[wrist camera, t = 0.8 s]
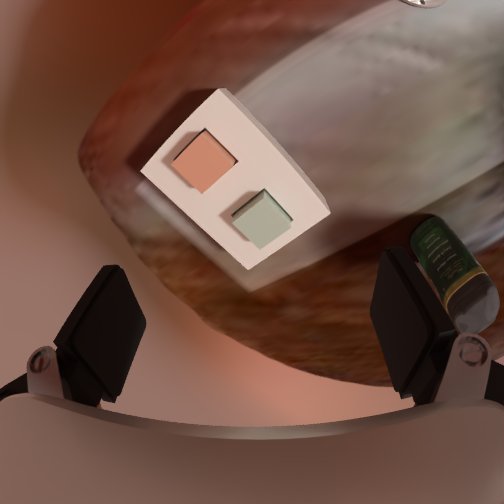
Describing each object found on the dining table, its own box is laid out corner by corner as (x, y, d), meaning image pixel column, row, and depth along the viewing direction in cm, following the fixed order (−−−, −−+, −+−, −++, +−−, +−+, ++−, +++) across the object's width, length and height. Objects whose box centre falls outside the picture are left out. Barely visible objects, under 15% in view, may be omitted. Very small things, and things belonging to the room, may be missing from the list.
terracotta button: (207, 128, 30) (200, 134, 27) (236, 157, 32) (232, 166, 29) (179, 156, 32) (170, 164, 29) (207, 183, 34) (201, 194, 31)
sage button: (264, 186, 34) (263, 197, 31) (289, 214, 36) (291, 227, 33) (235, 210, 36) (231, 223, 33) (260, 235, 38) (259, 249, 35)
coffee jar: (401, 237, 40) (450, 322, 25) (435, 207, 36) (500, 282, 21) (424, 268, 43) (466, 348, 28) (455, 242, 40) (507, 316, 24)
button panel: (225, 87, 30) (218, 88, 26) (324, 197, 38) (330, 213, 34) (154, 159, 36) (140, 171, 32) (250, 250, 44) (248, 270, 39)
